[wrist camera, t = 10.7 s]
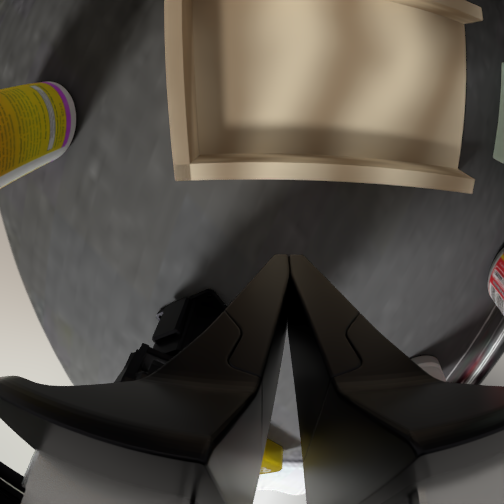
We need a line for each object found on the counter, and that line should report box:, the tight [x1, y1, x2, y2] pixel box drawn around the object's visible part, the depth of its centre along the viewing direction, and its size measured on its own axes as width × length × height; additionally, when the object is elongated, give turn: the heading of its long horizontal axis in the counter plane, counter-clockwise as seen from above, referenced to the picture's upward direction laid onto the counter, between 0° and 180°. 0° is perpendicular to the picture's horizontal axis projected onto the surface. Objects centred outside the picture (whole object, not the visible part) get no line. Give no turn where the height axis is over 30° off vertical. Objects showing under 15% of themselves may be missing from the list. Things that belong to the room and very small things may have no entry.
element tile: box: [260, 439, 283, 474], centre depth 39 cm, size 15×15×5 cm
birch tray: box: [164, 0, 483, 194], centre depth 15 cm, size 19×13×3 cm
